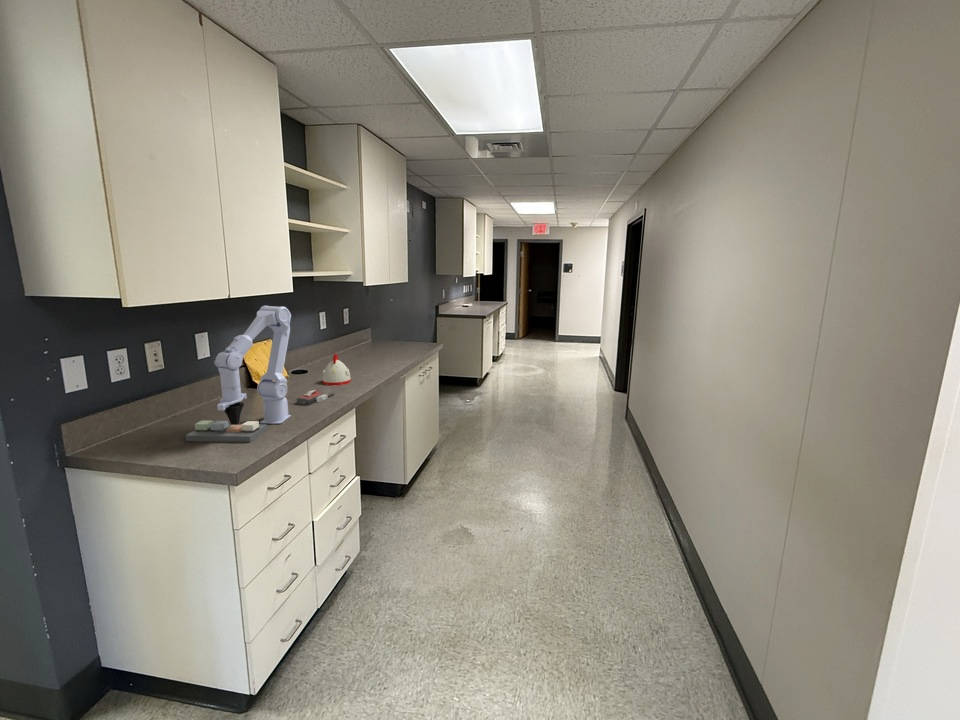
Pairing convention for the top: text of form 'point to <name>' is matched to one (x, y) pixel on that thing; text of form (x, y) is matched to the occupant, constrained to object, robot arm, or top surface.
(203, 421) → the key sage
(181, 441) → the top surface
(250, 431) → the key ivory
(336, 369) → the kitchen timer
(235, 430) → the key terracotta
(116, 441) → the top surface
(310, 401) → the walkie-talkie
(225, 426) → the key slate
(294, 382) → the top surface
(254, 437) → the grey slotted tray
